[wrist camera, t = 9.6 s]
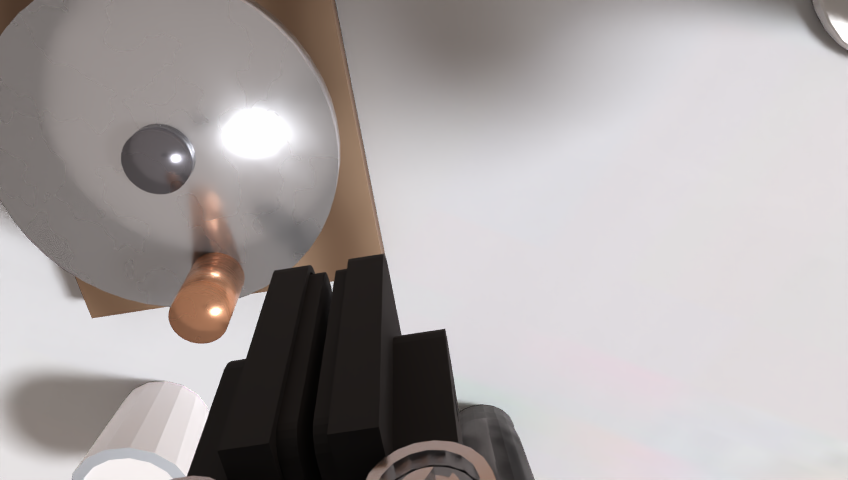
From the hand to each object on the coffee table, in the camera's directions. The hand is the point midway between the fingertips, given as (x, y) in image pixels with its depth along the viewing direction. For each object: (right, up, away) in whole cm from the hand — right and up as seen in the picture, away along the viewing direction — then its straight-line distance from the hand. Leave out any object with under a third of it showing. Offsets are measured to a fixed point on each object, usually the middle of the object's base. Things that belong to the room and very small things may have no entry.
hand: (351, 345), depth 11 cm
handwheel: (-11, +6, +23) cm, 26 cm away
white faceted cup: (-16, -10, +36) cm, 41 cm away
